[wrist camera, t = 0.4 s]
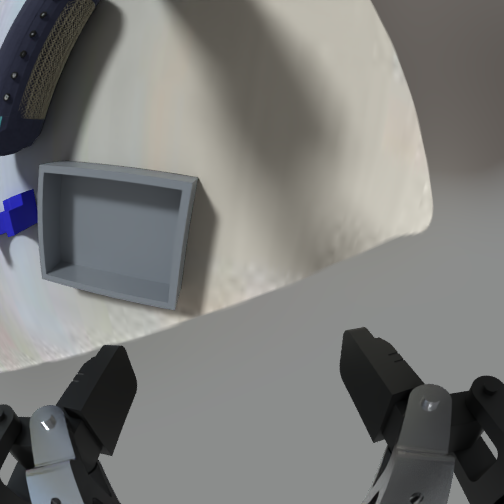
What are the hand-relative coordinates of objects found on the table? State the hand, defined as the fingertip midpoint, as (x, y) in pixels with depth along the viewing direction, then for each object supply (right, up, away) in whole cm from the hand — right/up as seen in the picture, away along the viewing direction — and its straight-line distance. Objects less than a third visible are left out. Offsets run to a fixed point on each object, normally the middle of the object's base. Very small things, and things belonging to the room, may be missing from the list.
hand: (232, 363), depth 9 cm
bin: (-15, +7, +20) cm, 26 cm away
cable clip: (-34, +10, +18) cm, 39 cm away
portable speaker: (-25, +28, +11) cm, 39 cm away
